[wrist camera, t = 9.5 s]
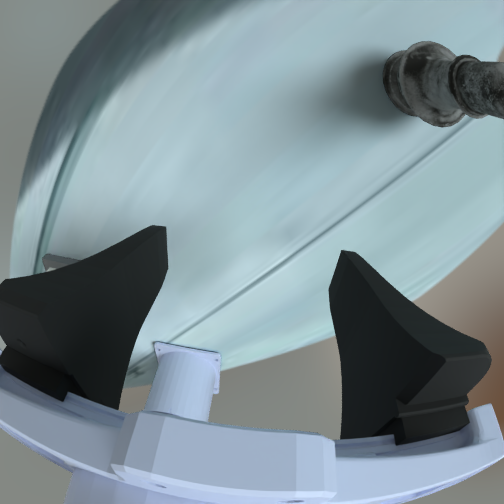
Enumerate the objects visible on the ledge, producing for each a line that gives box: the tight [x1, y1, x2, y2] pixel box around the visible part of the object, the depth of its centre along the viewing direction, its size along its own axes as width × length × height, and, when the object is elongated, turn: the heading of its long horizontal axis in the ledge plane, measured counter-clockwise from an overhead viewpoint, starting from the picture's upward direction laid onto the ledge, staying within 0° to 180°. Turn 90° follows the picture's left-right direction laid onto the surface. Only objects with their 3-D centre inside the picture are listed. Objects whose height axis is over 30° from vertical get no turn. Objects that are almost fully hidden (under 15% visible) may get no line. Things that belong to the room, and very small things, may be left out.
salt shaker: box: [383, 41, 504, 127], centre depth 10 cm, size 6×6×12 cm
